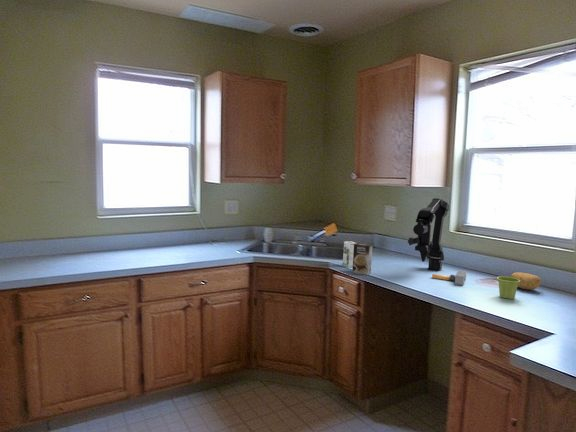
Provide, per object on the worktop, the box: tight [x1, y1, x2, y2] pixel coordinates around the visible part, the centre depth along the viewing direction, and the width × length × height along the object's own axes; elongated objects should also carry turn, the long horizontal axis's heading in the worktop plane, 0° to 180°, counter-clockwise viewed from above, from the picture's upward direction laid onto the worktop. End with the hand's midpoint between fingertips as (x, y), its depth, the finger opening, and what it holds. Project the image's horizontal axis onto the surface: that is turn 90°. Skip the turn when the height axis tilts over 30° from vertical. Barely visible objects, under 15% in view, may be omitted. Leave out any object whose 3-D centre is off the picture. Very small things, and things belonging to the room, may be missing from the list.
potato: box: [510, 271, 542, 291], centre depth 205 cm, size 10×14×8 cm
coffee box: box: [352, 242, 373, 276], centre depth 227 cm, size 9×6×16 cm
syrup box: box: [342, 240, 357, 268], centre depth 243 cm, size 6×6×14 cm
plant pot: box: [496, 276, 520, 300], centre depth 191 cm, size 9×9×9 cm
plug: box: [431, 273, 456, 282], centre depth 219 cm, size 13×3×3 cm, turn 62°
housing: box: [454, 269, 467, 286], centre depth 215 cm, size 4×14×5 cm, turn 152°
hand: (423, 261), depth 223 cm, fingers closed
